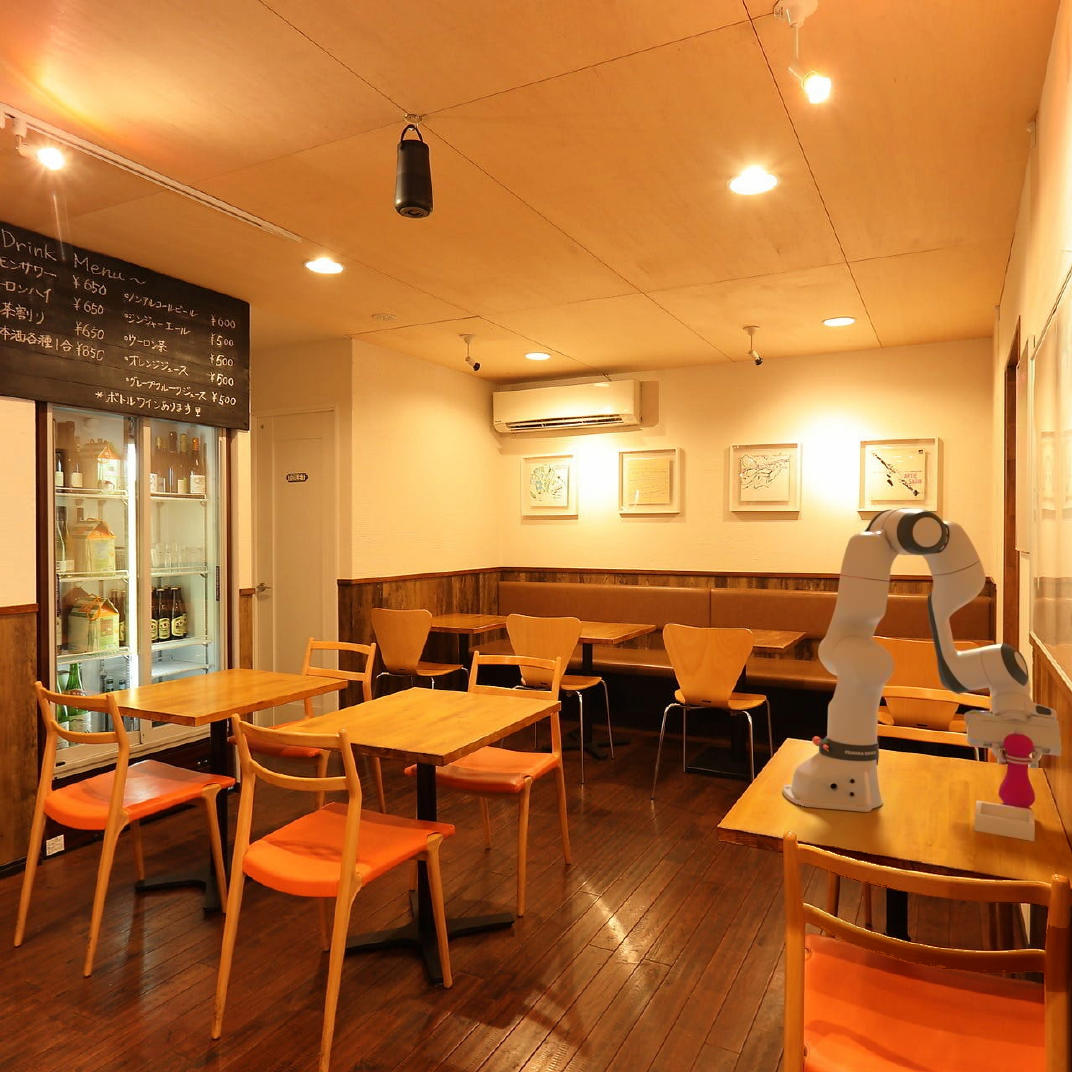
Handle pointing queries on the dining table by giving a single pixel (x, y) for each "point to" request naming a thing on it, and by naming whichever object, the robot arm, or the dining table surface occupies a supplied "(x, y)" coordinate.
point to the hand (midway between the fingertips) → (1018, 765)
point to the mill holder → (1005, 820)
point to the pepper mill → (1017, 771)
